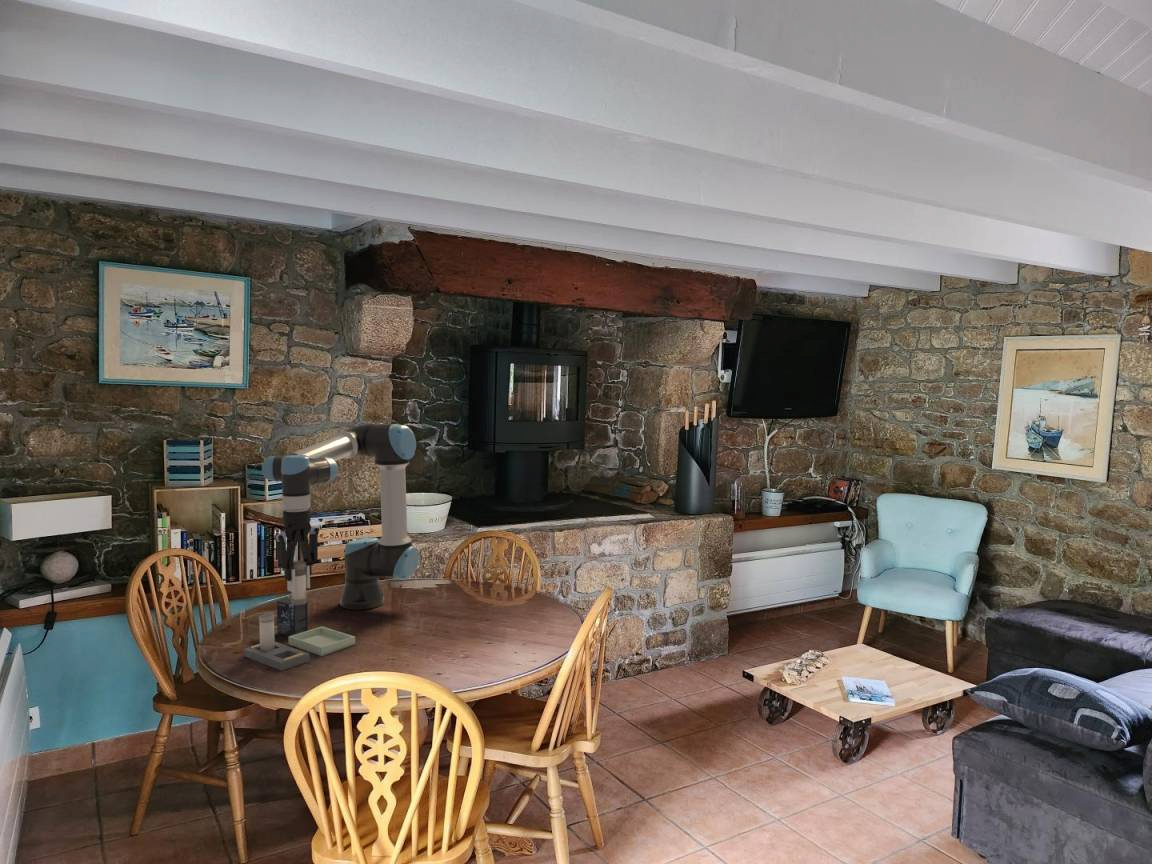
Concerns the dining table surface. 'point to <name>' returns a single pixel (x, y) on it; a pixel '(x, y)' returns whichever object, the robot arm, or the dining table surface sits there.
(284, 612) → the box
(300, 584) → the cylinder
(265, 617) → the fuse
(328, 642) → the parts tray
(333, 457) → the robot arm
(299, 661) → the fuse holder
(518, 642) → the dining table surface
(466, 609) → the dining table surface
